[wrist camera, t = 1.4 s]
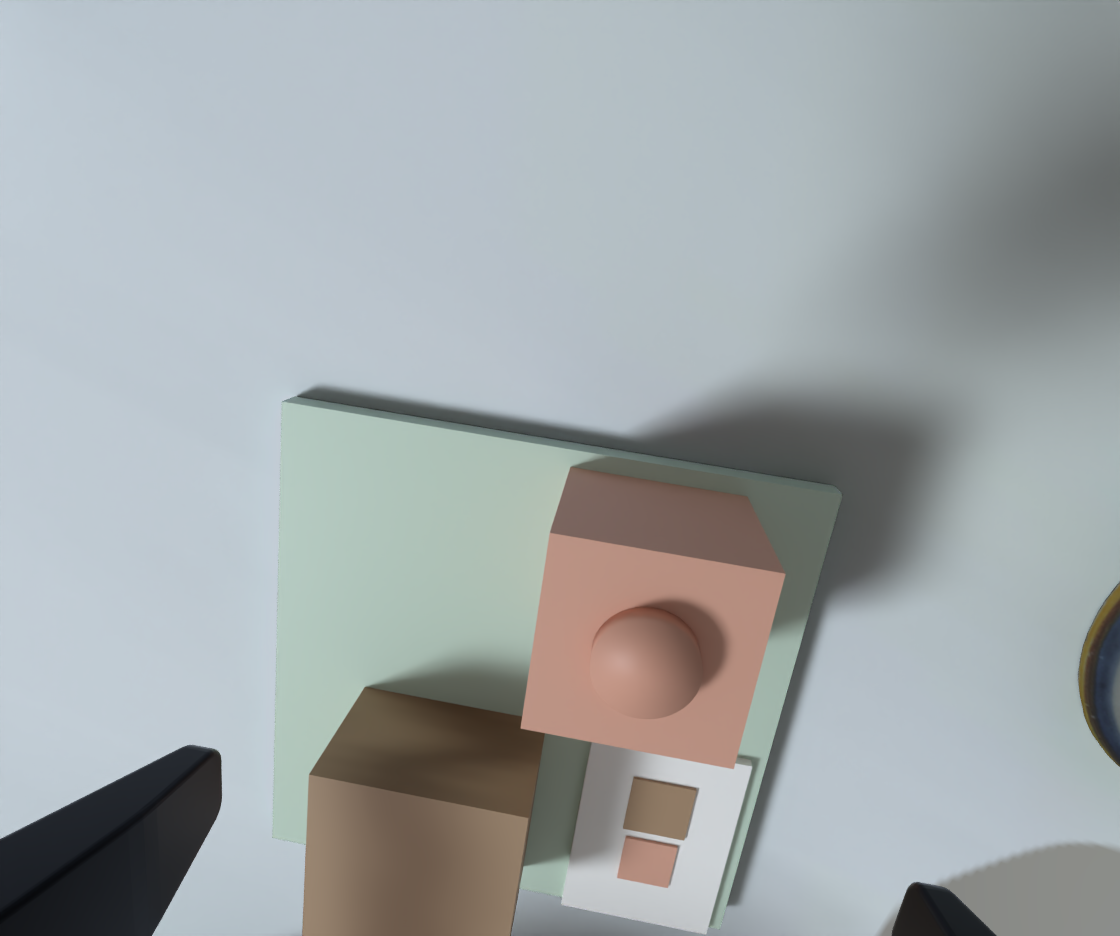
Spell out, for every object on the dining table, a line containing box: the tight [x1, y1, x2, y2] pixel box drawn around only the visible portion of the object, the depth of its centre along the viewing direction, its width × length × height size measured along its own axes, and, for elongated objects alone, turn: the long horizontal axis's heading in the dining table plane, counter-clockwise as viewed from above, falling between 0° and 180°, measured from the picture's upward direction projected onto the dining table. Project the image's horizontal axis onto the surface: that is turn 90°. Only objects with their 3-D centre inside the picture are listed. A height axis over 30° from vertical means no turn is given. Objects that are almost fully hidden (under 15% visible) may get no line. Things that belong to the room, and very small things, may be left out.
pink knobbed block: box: [520, 467, 786, 769], centre depth 17 cm, size 5×5×6 cm
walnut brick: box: [302, 687, 545, 936], centre depth 21 cm, size 6×6×4 cm
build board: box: [272, 397, 843, 935], centre depth 22 cm, size 16×16×1 cm
